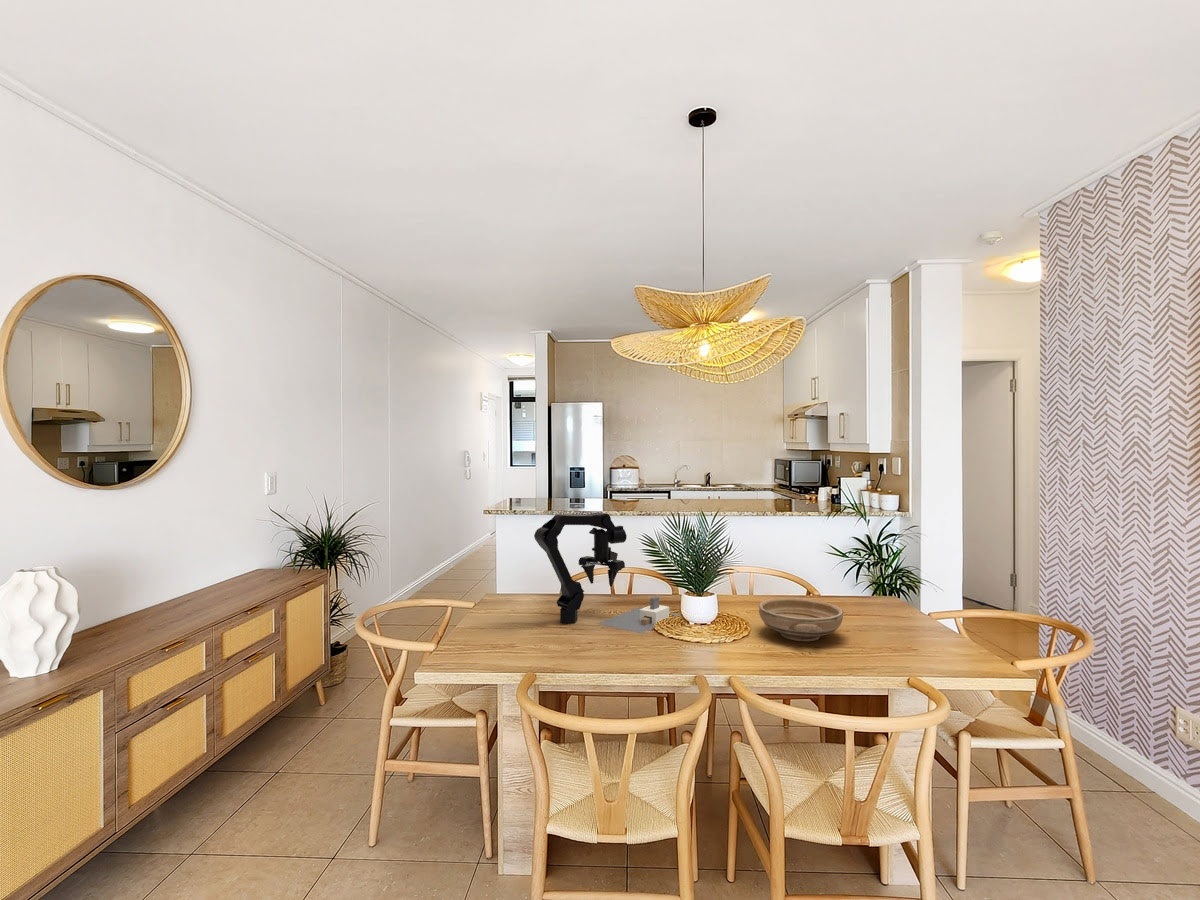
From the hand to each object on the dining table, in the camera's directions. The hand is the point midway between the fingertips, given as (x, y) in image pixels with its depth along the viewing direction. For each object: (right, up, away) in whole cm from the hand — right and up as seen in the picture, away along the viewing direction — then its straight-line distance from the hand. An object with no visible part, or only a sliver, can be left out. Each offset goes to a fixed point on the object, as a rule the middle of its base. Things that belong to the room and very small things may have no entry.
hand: (601, 584), depth 239 cm
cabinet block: (+20, -12, -6) cm, 24 cm away
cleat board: (+15, -13, -5) cm, 20 cm away
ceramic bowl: (+70, -13, -23) cm, 75 cm away
